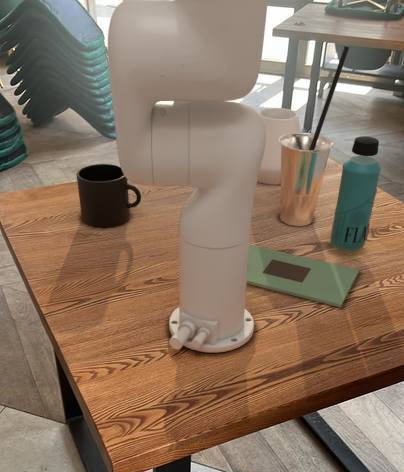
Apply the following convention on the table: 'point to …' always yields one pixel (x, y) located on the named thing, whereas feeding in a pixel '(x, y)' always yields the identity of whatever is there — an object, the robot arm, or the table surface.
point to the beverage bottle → (356, 196)
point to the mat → (299, 276)
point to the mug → (105, 195)
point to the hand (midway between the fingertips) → (211, 36)
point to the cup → (275, 141)
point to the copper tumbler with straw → (305, 166)
